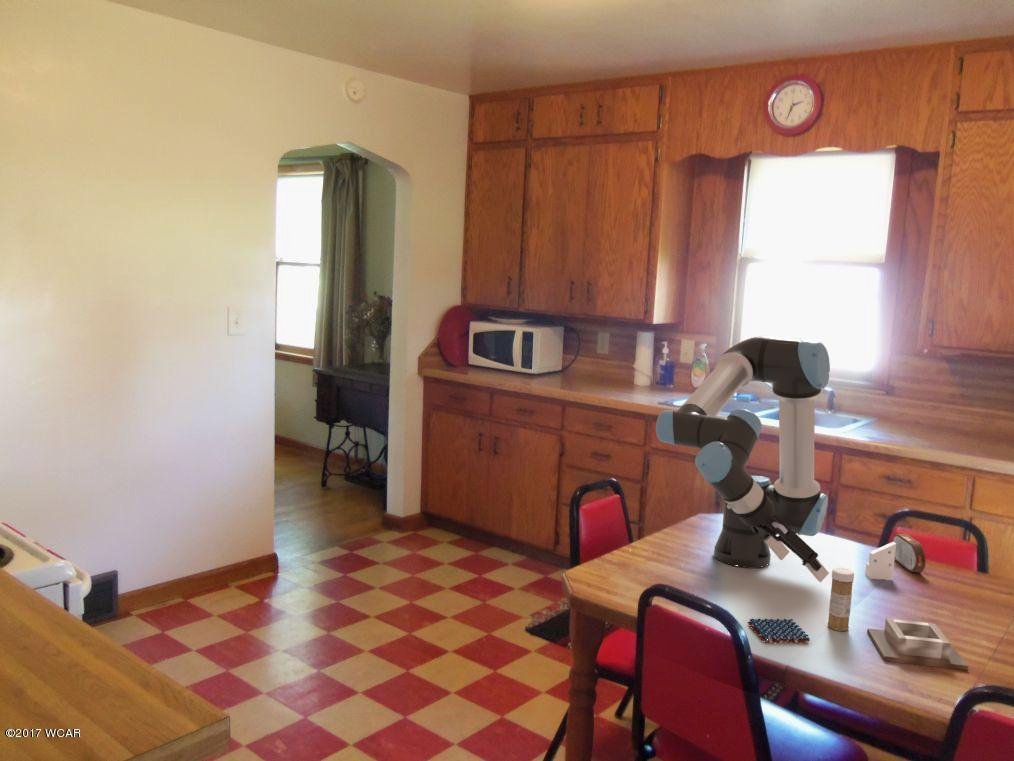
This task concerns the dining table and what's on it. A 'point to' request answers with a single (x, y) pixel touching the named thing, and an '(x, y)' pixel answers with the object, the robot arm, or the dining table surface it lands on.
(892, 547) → the white angled block
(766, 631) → the woven mat
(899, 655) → the frame
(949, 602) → the dining table surface
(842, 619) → the sprinkles bottle
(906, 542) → the tin
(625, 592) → the dining table surface
